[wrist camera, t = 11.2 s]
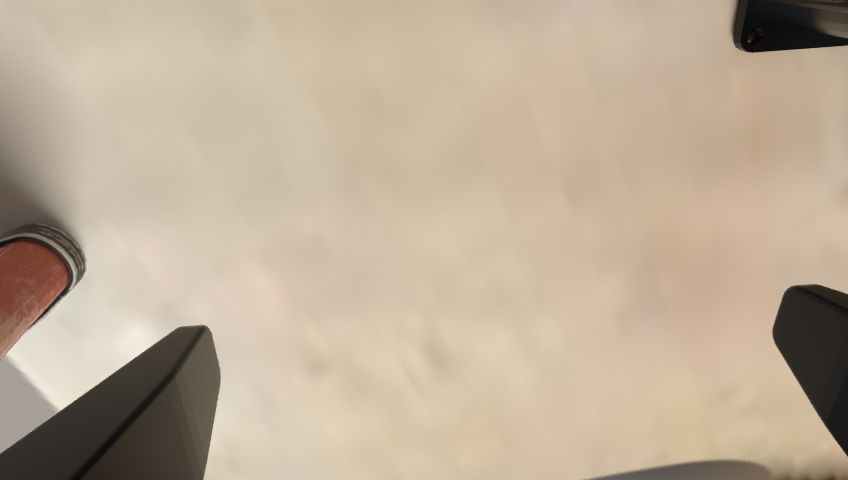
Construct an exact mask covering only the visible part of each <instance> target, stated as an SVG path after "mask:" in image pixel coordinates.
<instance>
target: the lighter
mask: <svg viewBox="0 0 848 480" xmlns="http://www.w3.org/2000/svg"><path fill="white" fill-rule="evenodd" d="M85 271H86V258H85V256H84V254H83V251H82V249H81V248H80V247H79V245H78V244H77V243H76V242H75V241H74V239H72V238H71V237H70V236H68V235H67V234H66V233H64V232H63V231H61V230H59V229H57V228H54V227H52V226H50V225H45V224H38V223H33V224H27V225H23V226H21V227H18V228H16V229H13V230H11V231H9V232H6V233H4V234H1V235H0V360H1V359H2V357H3V356H4V355H5V354H6V353H7V352H8V351H9V350H10V349H11V347H12V346H13V345H14V344H15V343H16V342H17V341H18V340H19V339H20V337H21V336H22V335H23V334H25V333H26V332H27V331H28V330H30V329H31V328H32V327H33V326H35V325H36V324H37V323H39V322H40V321H41V320H42V319H44V318H45V317H46V316H47V315H48V314H49V313H50V312H51V311H52V310H53V309H54V308H55V307H56V306H57V305H58V304H59V303H60V301H61V300H62V299H63V298H64V297H65V296H66V295H67V294H68V293H69V292H70V291H71V290H72V289H73V288H74V286H75V285H76V284H77V283H78V282H79V281H80V280H81V278H82V277H83V275H84V273H85Z"/></svg>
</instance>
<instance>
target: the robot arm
mask: <svg viewBox="0 0 848 480" xmlns="http://www.w3.org/2000/svg"><path fill="white" fill-rule="evenodd" d="M752 30H755V37H754V39H753V40H752V41H751V42H748V36H749V33H750V32H751V31H752ZM734 44H735V46H736V48H738V49H739V50H742V51H746V52H752V53H753V52H766V51H780V50H793V49H806V48H820V47H833V46H846V45H848V0H740V4H739V10H738V15H737V21H736V26H735V31H734ZM773 339H774V342H775V344H776V346H777V348H778V349H779V351H780V353H781V354H782V356H783V358H784V359H785V361H786V363H787V364H788V366H789V368H790V369H791V371H792V372H793V374H794V376H795V377H796V379H797V381H798V382H799V384H800V386H801V387H802V389H803V391H804V392H805V394H806V396H807V397H808V399H809V400H810V402H811V404H812V405H813V407H814V409H815V410H816V412H817V414H818V415H819V417H820V418H821V420H822V421H823V423H824V425H825V426H826V427H827V429H828V430H829V432H830V433H831V434H832V436H833V437H834V439H835V440H836V441H837V443H838V444H839V445H840V447H841V448H842V449H843V451H844V452H845V454H846V455H847V456H848V294H846V293H843V292H840V291H836V290H833V289H830V288H827V287H824V286H821V285H816V284H809V285H796V286H791V287H789V288H788V289H787V290H786V291H785V292H784V295H783V297H782V301H781V304H780V307H779V310H778V313H777V316H776V319H775V322H774V326H773ZM220 379H221V378H220V367H219V363H218V359H217V354H216V350H215V346H214V341H213V337H212V333H211V331H210V329H209V328H208V327H207V326H205V325H199V326H183V327H179V328H177V329H175V330H174V331H172V332H171V333H170V334H168V335H167V336H165V337H164V338H163V339H161V340H160V341H158V342H157V343H155V344H154V345H153V346H151V347H150V348H148V349H147V350H146V351H144V352H143V353H141V354H140V355H139V356H137V357H136V358H134V359H133V360H132V361H130V362H129V363H127V364H126V365H125V366H123V367H122V368H120V369H119V370H118V371H116V372H115V373H113V374H112V375H110V376H109V377H108V378H106V379H105V380H103V381H102V382H101V383H99V384H98V385H96V386H95V387H94V388H92V389H91V390H89V391H88V392H87V393H85V394H84V395H82V396H81V397H80V398H78V399H77V400H75V401H74V402H73V403H71V404H70V405H68V406H67V407H65V408H64V409H63V410H61V411H60V412H58V413H57V414H56V415H54V416H53V417H51V418H50V419H49V420H47V421H46V422H44V423H43V424H42V425H40V426H39V427H37V428H36V429H35V430H33V431H32V432H30V433H29V434H27V435H26V436H25V437H23V438H22V439H20V440H19V441H18V442H16V443H15V444H14V445H12V446H11V447H9V448H8V449H7V450H5V451H4V452H2V453H1V454H0V480H203V479H204V474H205V469H206V464H207V458H208V452H209V446H210V441H211V435H212V429H213V423H214V417H215V412H216V406H217V400H218V394H219V389H220Z"/></svg>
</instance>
